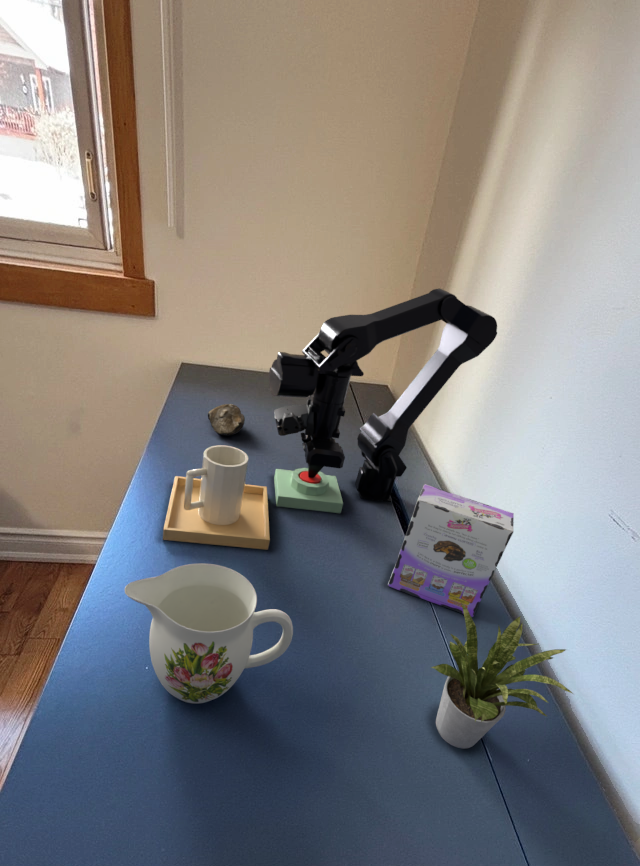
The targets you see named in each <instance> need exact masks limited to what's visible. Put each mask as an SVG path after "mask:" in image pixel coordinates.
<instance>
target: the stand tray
mask: <svg viewBox="0 0 640 866" xmlns="http://www.w3.org/2000/svg"><path fill="white" fill-rule="evenodd" d="M172 484H173V485H172V489H171V493H170V497H169V501H168V507H167V511H166V516H165V519H164V524H163V529H162V540H163V541H171V542H172V541H173V542H183V543H193V544H201V545H202V544H203V545H215V546H224V547H225V546H226V547H233V548H234V547H236V548H244V549H257V550H265V551H266V550H268V551H269V547H270V542H271V538H270V537H271V536H270V521H269V517H270V516H269V501H268V500H269V499H268V486H263V485H256V484H255V485H254V484H246V483H245V487H244V494H243V501H242V508H241V513H240V518H239V519H238V520H237V521H236V522H235V523H233V524H229V525H215V524H211V523H208V522H206V521H204V520H203V519H202V518H201V517H200V516H199V513H198V510H199V509H198V508H197V509H192V510H185V509H184V498H185V485H186V476H179V475H175V476H174V479H173V483H172ZM200 485H201V478H197V477H194V478H193V489H192V501H191V503H192V502H196V501H199V495H200Z"/></svg>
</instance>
